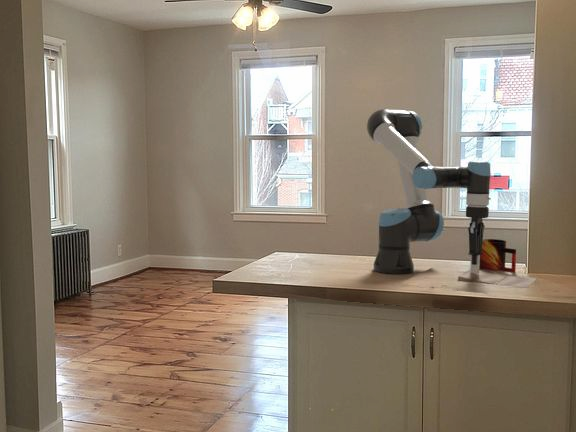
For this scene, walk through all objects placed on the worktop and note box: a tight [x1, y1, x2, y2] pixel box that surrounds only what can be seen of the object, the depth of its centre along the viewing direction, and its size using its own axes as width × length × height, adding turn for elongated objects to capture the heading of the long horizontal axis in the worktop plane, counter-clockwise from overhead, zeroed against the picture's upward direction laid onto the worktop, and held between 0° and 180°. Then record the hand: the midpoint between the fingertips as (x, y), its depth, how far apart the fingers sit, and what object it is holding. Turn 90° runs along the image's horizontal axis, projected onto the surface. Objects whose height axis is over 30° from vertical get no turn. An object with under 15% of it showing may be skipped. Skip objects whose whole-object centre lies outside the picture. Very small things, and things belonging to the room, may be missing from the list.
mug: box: [479, 238, 517, 273], centre depth 228 cm, size 10×14×12 cm
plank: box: [457, 269, 507, 285], centre depth 211 cm, size 12×18×1 cm, turn 149°
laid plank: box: [495, 274, 537, 289], centre depth 205 cm, size 10×18×1 cm, turn 149°
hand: (474, 273), depth 212 cm, fingers closed
